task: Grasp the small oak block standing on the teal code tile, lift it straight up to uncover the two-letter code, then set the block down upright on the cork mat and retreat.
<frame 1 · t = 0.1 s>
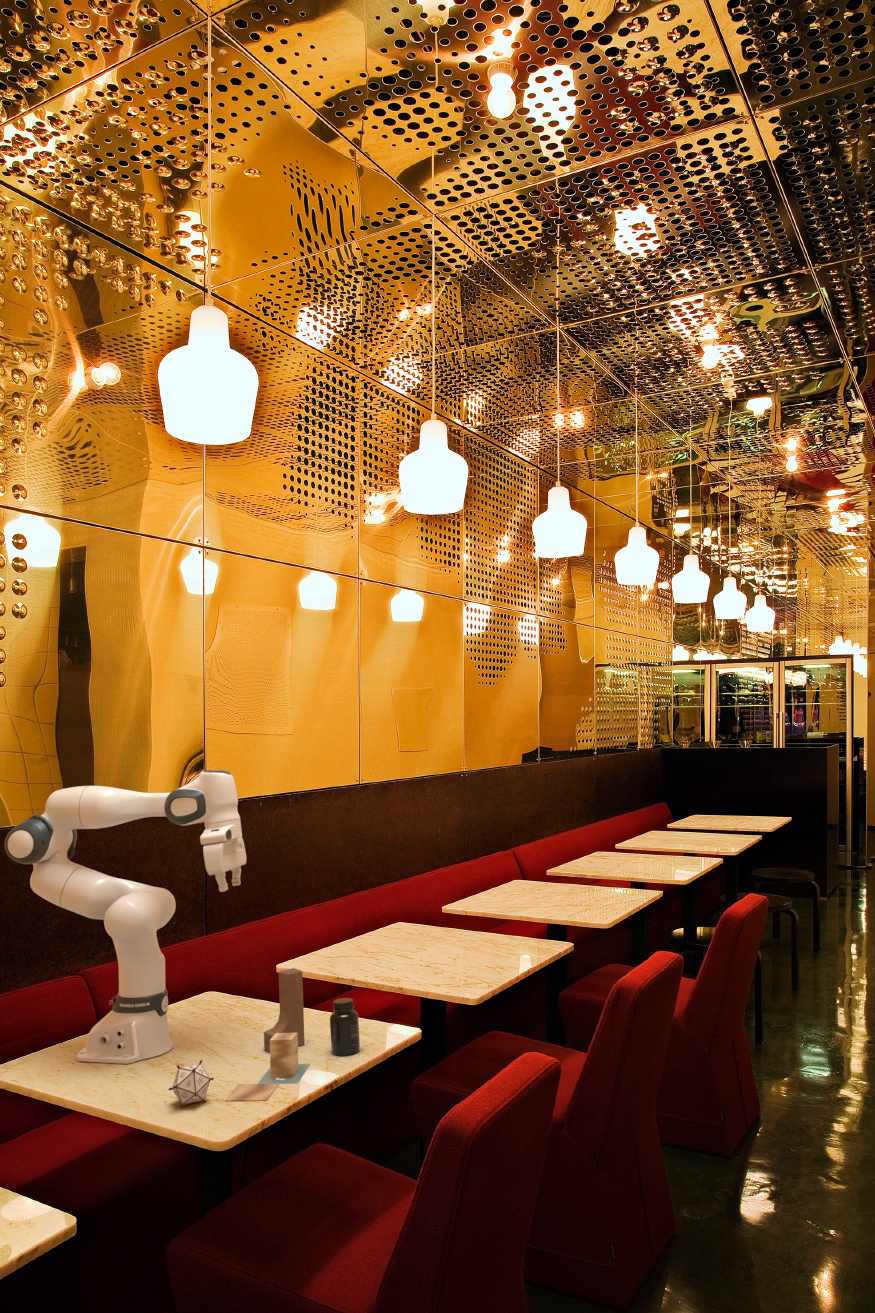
hand: (230, 888, 219), 39 cm above the table, tool pointing down, fingers open, 8 cm apart
cork mat: (252, 1094, 184), on the table
game die: (191, 1105, 180), on the table
supplement bottle: (345, 1053, 208), on the table
wooden block: (284, 1049, 213), on the table
oak block: (284, 1073, 195), resting on code tile
code tile: (284, 1074, 195), on the table
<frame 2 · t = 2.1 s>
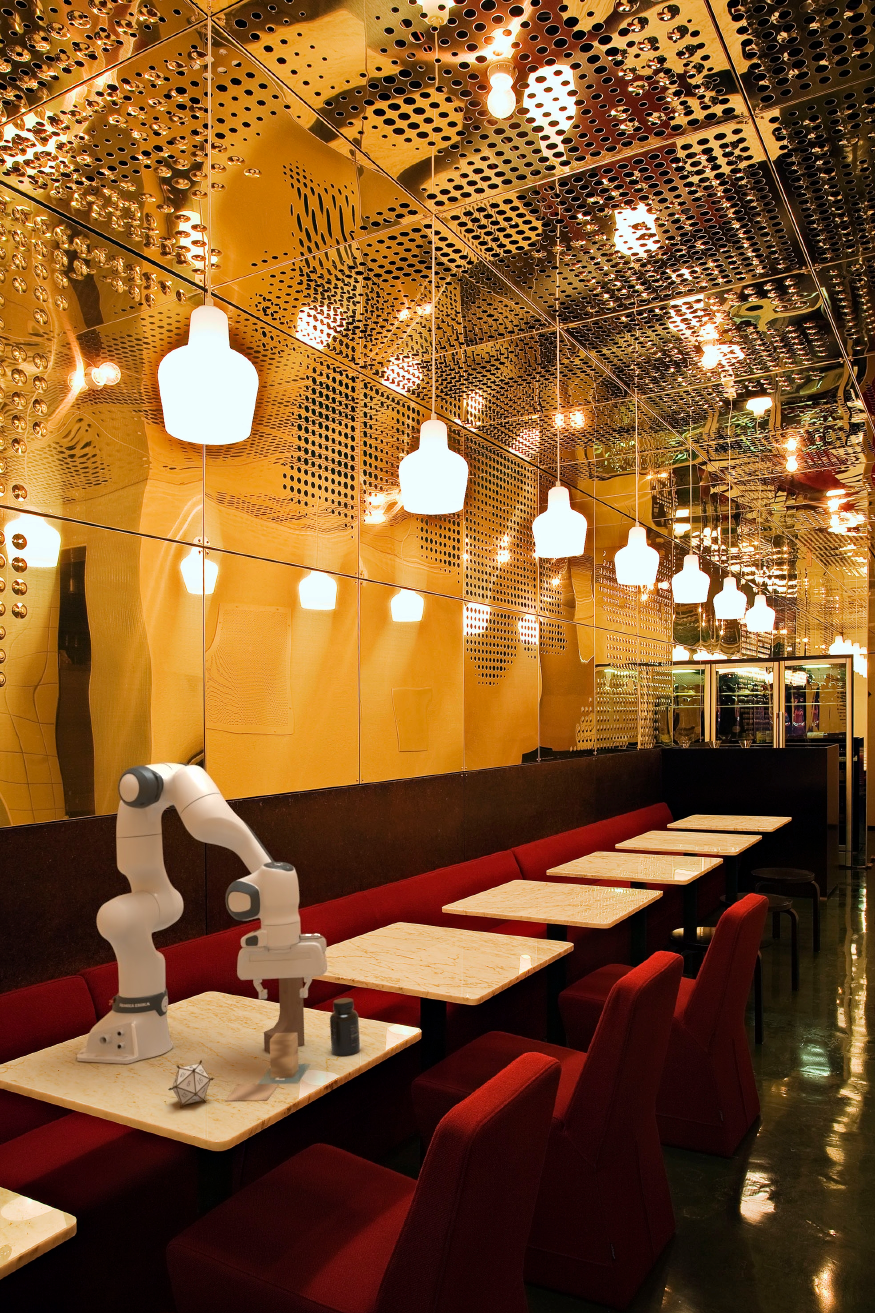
hand: (283, 998, 197), 17 cm above the table, tool pointing down, fingers open, 8 cm apart
nothing on the table moved.
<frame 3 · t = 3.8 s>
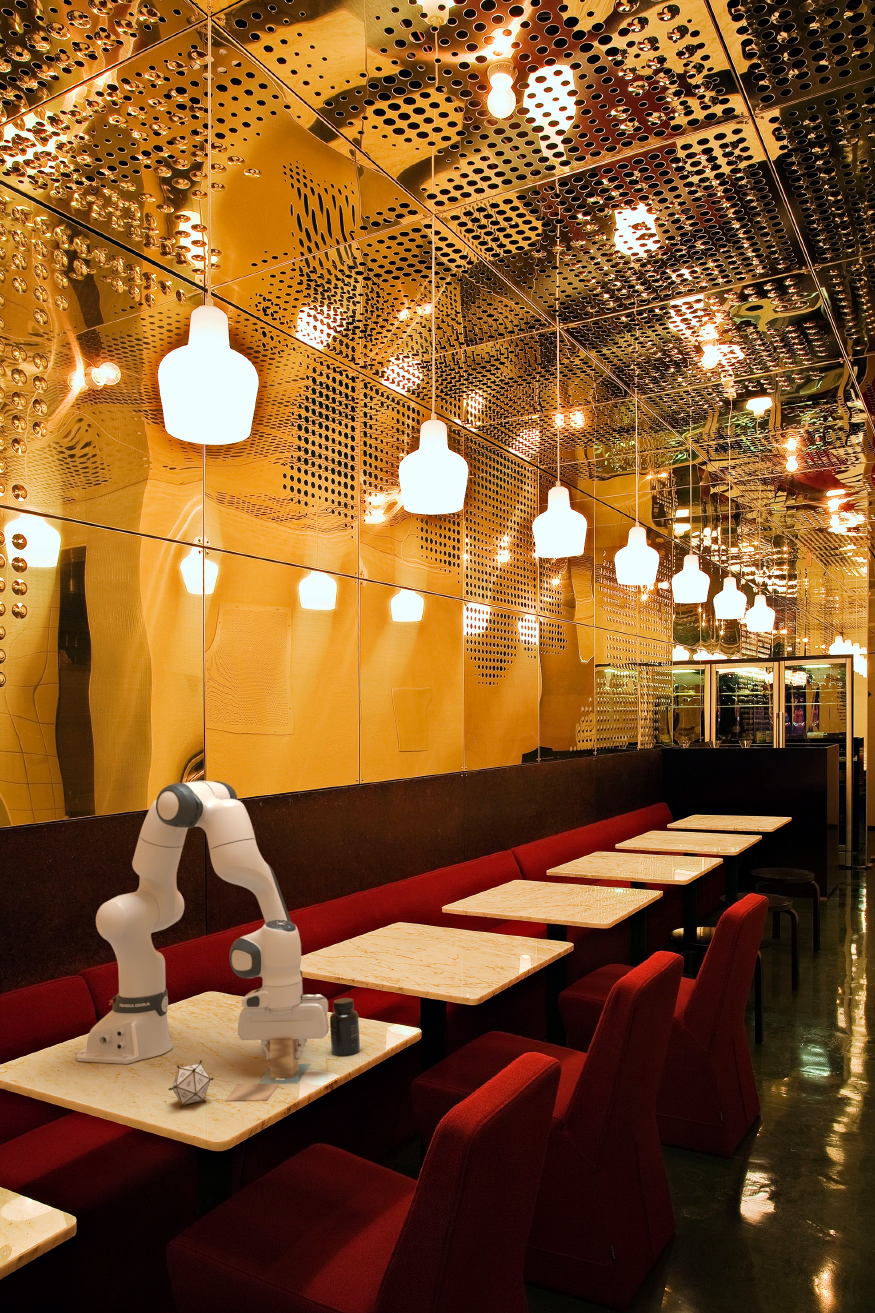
hand: (284, 1059, 195), 3 cm above the table, tool pointing down, fingers closed on oak block, 5 cm apart
oak block: (284, 1073, 195), resting on code tile, touching gripper
everything else where it was.
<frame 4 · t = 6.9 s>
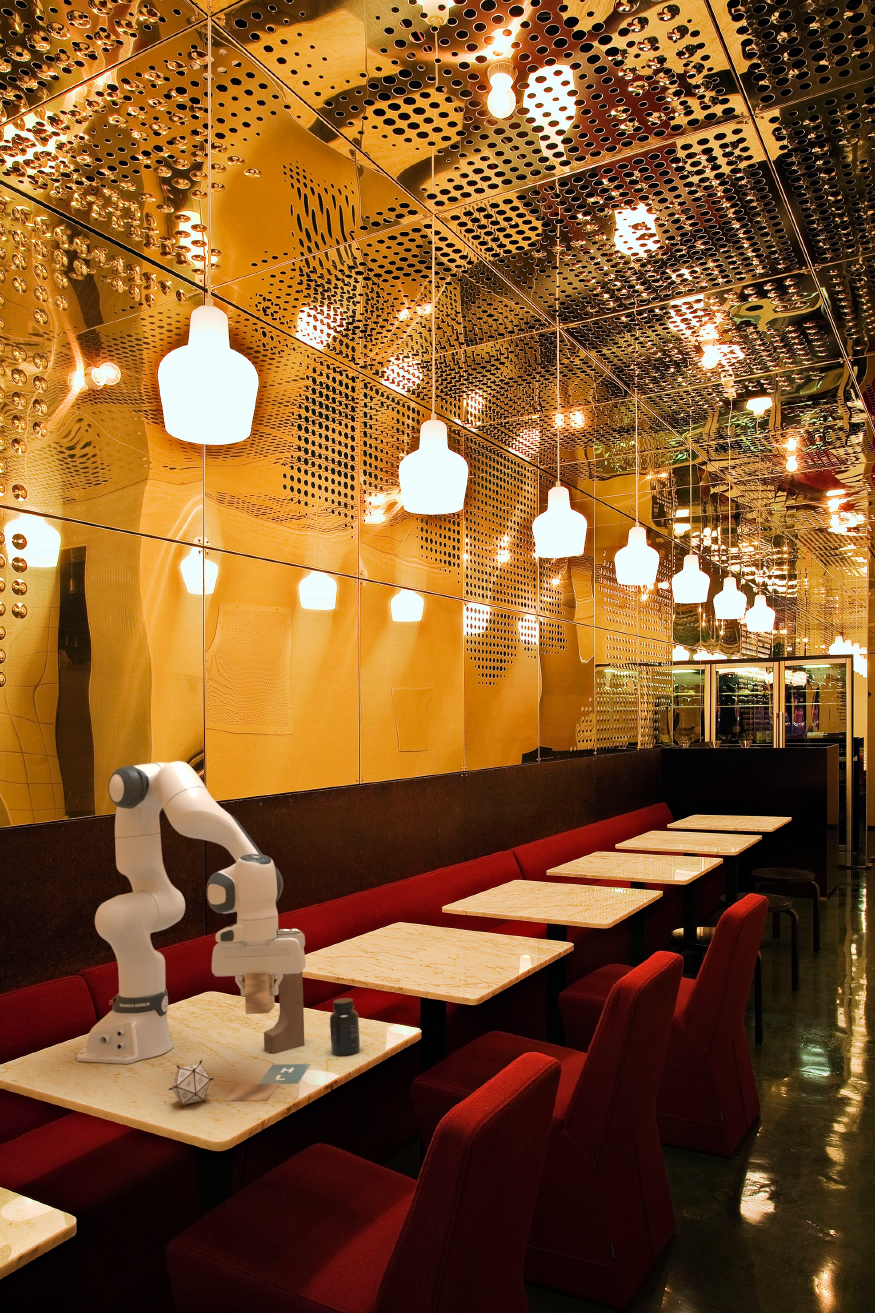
hand: (259, 995, 189), 19 cm above the table, tool pointing down, fingers closed on oak block, 5 cm apart
oak block: (260, 1010, 189), point 16 cm above the table, touching gripper
everything else where it was.
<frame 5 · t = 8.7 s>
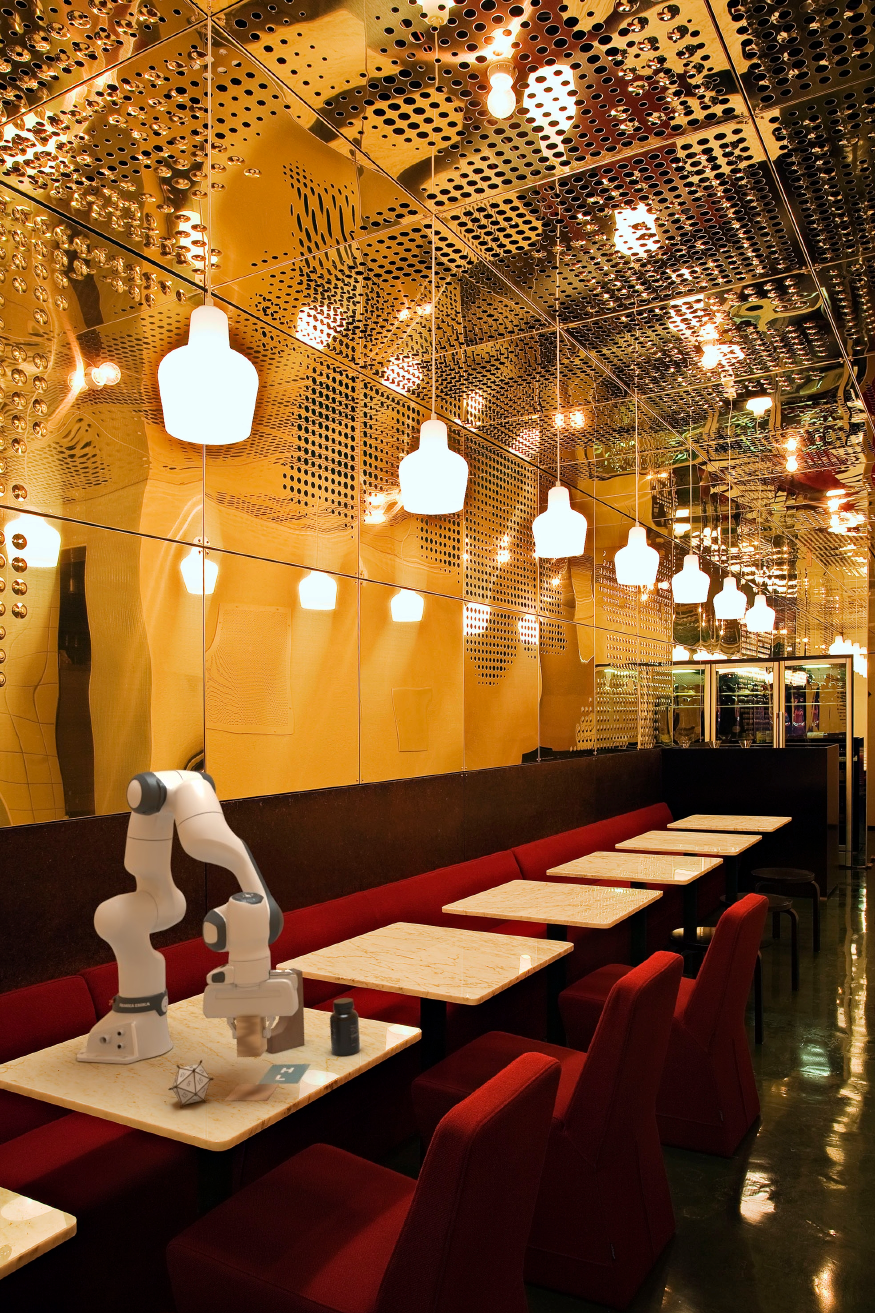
hand: (251, 1038, 185), 11 cm above the table, tool pointing down, fingers closed on oak block, 5 cm apart
oak block: (252, 1053, 185), point 8 cm above the table, touching gripper
everything else where it was.
when the fingers open (5 cm above the table, at t = 10.3 s): oak block drops 1 cm, resting on cork mat.
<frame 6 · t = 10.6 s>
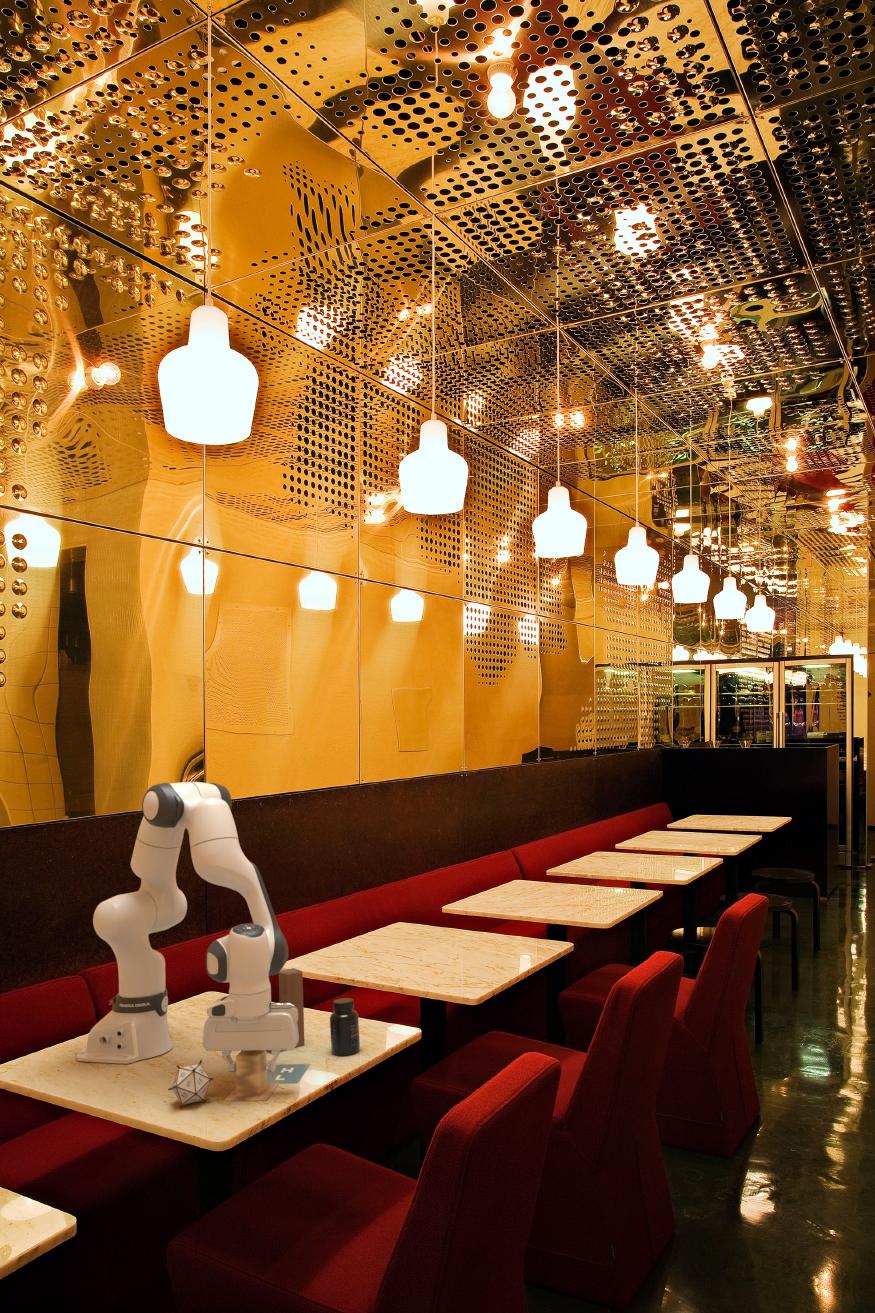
hand: (251, 1071, 185), 5 cm above the table, tool pointing down, fingers open, 7 cm apart
oak block: (252, 1092, 184), resting on cork mat
everything else where it was.
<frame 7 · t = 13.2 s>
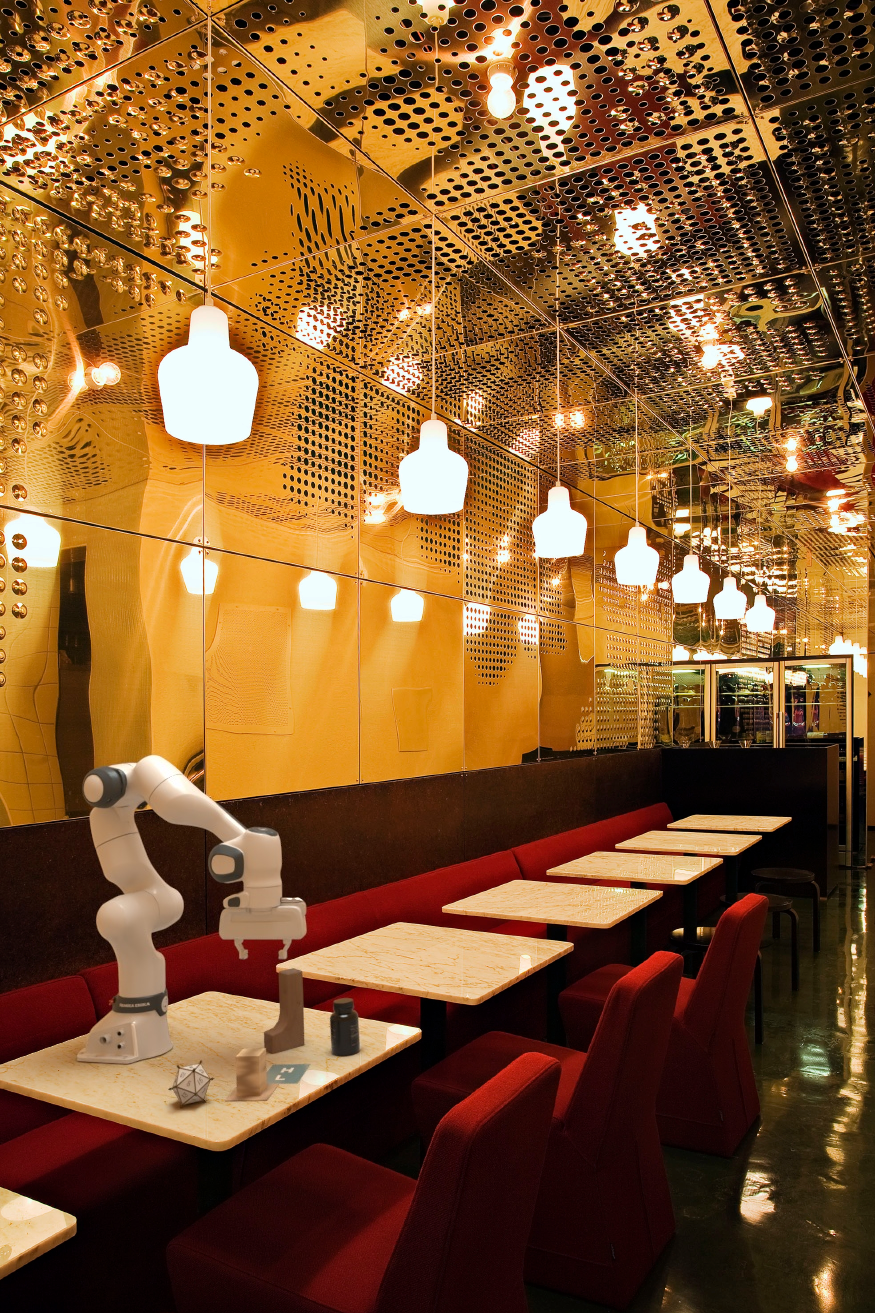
hand: (263, 958, 202), 24 cm above the table, tool pointing down, fingers open, 8 cm apart
nothing on the table moved.
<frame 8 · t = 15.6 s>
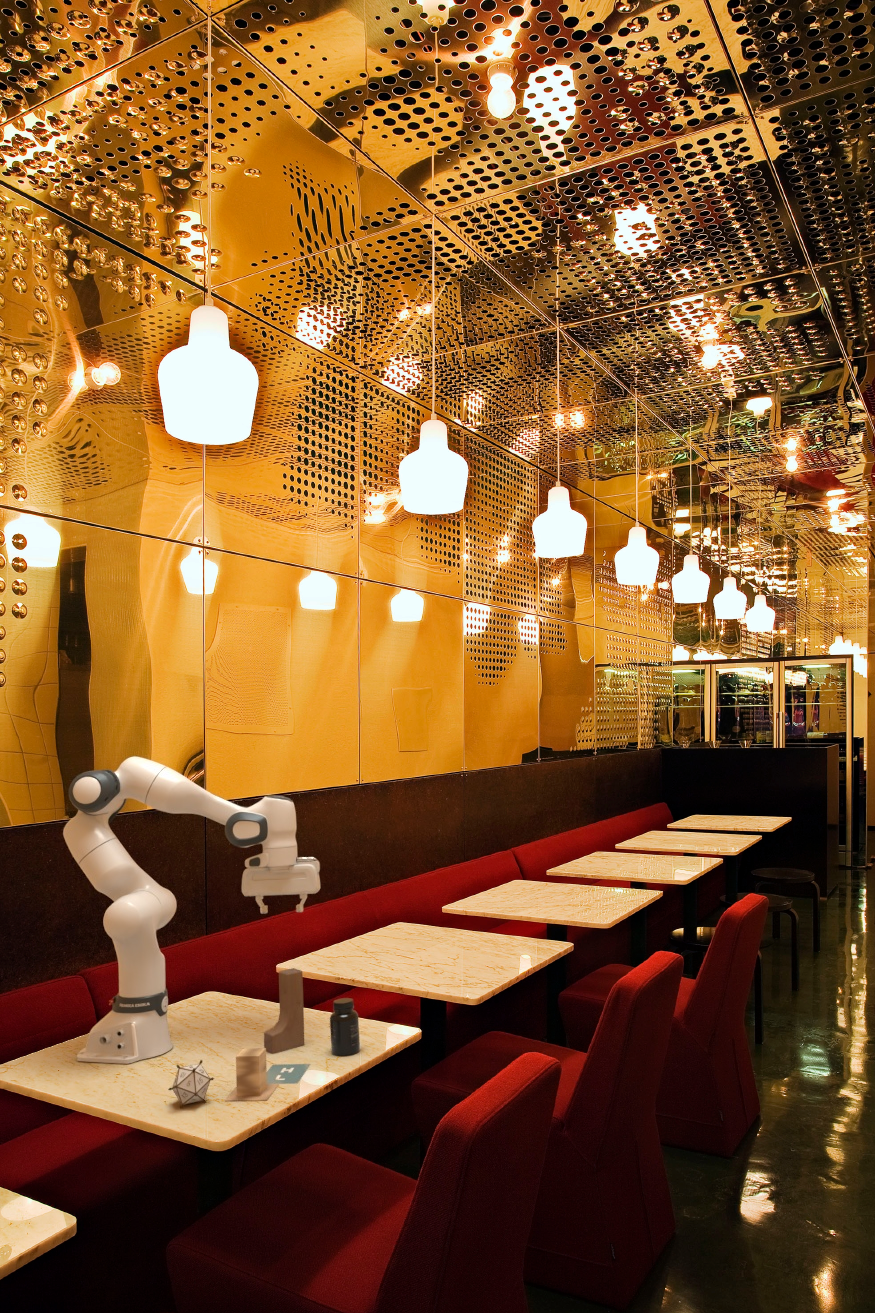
hand: (281, 912, 225), 31 cm above the table, tool pointing down, fingers open, 8 cm apart
nothing on the table moved.
at the end: oak block inside the target area on the cork mat (0.1 cm from its centre), point 0.4 cm above the cork mat's base; oak block tilted 0°; oak block touching cork mat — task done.
